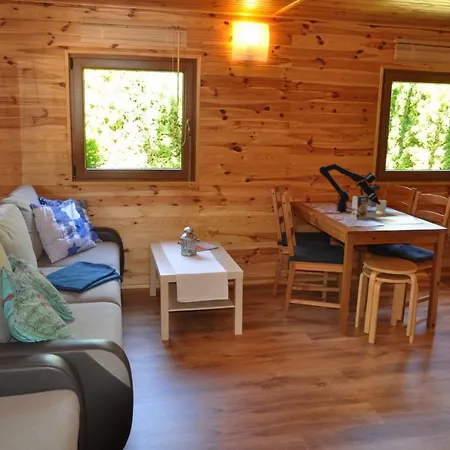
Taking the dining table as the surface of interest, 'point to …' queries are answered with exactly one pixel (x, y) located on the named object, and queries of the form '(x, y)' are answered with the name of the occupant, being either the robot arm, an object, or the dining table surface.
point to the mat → (374, 215)
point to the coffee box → (359, 207)
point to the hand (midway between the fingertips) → (379, 203)
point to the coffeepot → (368, 199)
